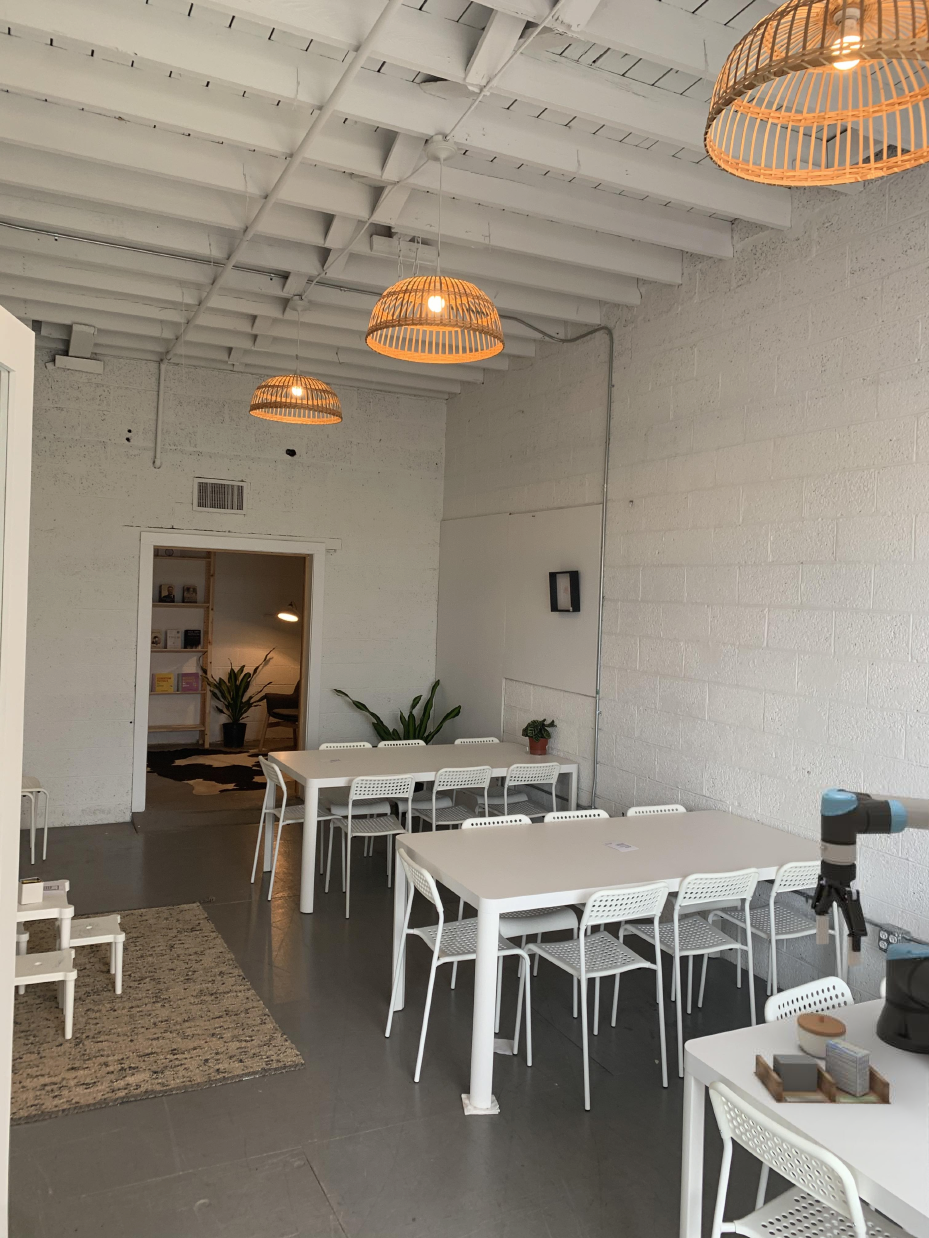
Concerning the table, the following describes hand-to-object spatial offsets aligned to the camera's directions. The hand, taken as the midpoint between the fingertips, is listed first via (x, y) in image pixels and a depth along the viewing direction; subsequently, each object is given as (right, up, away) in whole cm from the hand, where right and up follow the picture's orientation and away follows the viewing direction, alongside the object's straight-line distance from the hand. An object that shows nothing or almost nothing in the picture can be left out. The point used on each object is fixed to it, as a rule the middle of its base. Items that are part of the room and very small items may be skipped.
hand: (837, 954), depth 201 cm
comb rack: (-8, -26, -10) cm, 29 cm away
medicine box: (-2, -25, -10) cm, 27 cm away
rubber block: (-14, -25, -11) cm, 30 cm away
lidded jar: (-1, -27, +7) cm, 28 cm away
